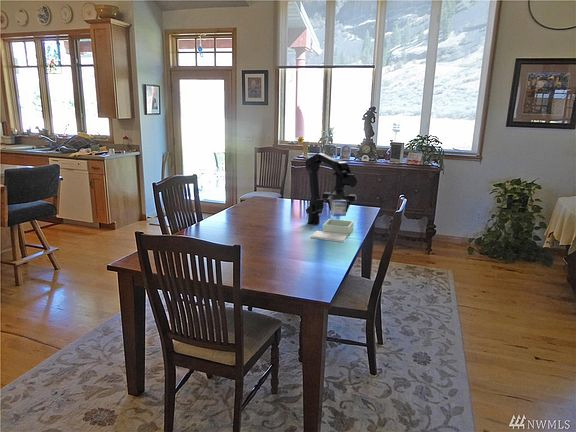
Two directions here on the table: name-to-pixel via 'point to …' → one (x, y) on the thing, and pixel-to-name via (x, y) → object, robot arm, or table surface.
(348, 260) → the table surface
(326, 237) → the tray
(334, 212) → the medicine box
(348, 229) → the sage bin
